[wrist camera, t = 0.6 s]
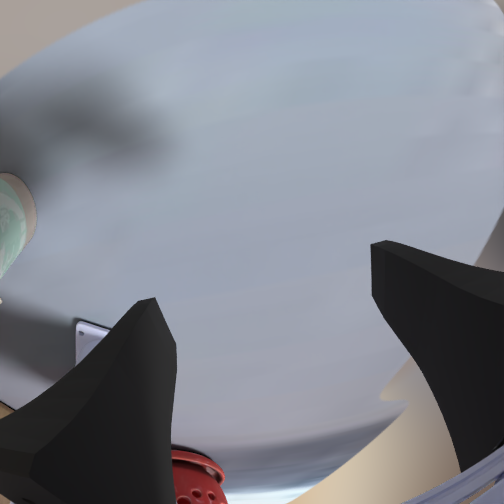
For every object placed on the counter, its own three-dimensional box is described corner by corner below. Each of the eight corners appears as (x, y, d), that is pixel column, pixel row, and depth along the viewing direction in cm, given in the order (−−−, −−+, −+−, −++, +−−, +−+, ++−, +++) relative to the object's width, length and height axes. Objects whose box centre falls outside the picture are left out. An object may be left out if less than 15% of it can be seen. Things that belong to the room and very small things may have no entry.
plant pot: (220, 438, 30) (228, 535, 19) (230, 480, 35) (238, 553, 24) (108, 436, 29) (94, 525, 18) (141, 480, 34) (137, 549, 23)
